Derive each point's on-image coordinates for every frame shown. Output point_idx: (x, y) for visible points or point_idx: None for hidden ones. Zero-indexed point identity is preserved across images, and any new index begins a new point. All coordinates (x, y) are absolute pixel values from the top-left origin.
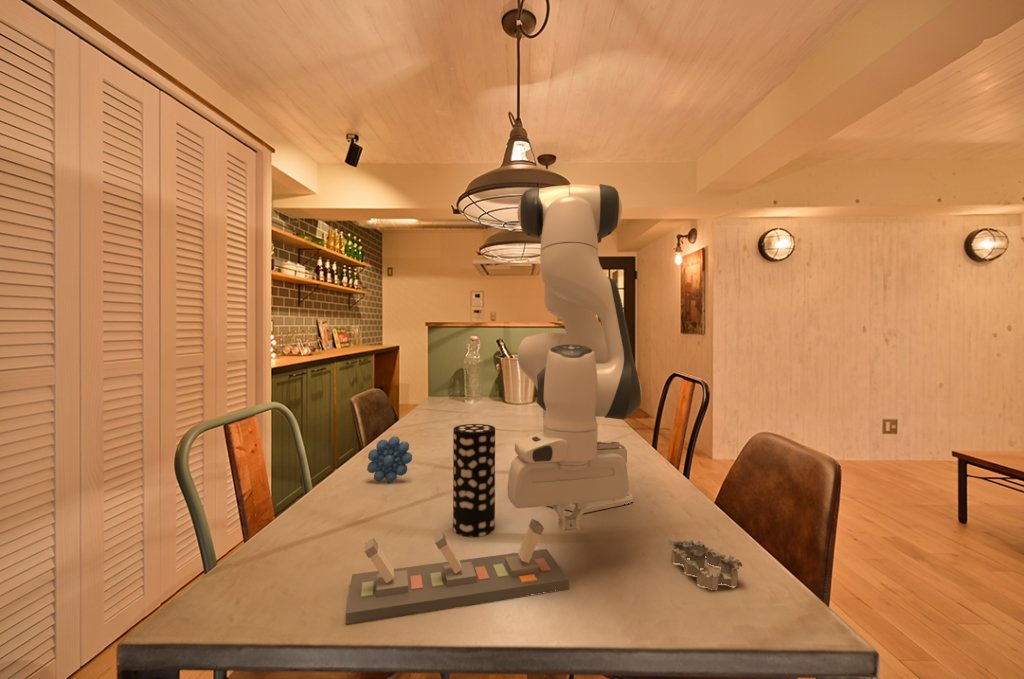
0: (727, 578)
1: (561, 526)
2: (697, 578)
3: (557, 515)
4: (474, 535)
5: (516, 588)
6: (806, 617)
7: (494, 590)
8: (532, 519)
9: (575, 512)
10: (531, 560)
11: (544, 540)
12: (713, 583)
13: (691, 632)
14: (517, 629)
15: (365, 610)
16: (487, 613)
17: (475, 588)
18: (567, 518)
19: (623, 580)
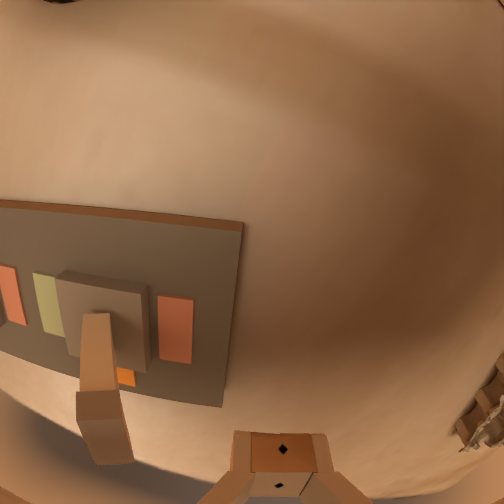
0: (479, 442)
1: (230, 461)
2: (463, 428)
3: (223, 476)
4: (61, 2)
5: None
6: (468, 465)
7: (41, 364)
8: (80, 424)
9: (322, 501)
10: (131, 333)
11: (304, 87)
12: (462, 441)
13: None
14: None
15: None
16: (43, 373)
17: (8, 339)
18: (267, 487)
19: (372, 394)
